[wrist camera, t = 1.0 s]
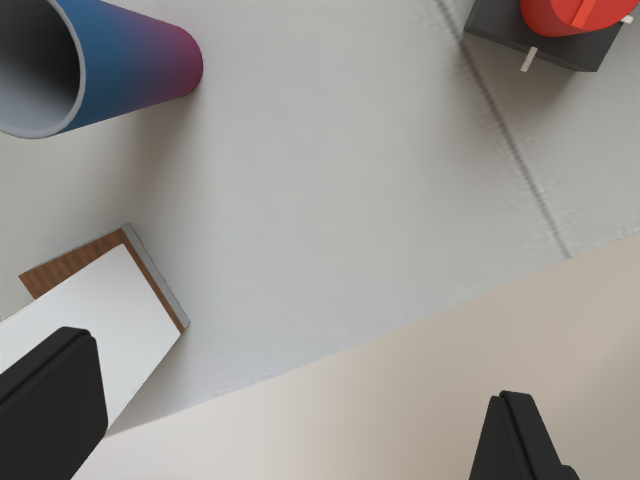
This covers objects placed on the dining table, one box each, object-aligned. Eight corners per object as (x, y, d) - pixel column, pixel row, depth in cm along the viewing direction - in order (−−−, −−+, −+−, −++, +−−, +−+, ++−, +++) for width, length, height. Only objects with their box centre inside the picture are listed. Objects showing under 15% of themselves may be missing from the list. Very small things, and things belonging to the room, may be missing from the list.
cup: (231, 47, 32) (108, 32, 18) (190, 127, 34) (55, 168, 20) (149, -11, 31) (-43, -72, 17) (114, 75, 34) (-77, 82, 20)
